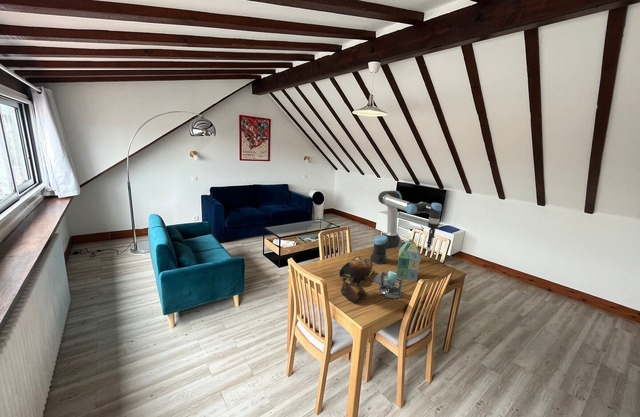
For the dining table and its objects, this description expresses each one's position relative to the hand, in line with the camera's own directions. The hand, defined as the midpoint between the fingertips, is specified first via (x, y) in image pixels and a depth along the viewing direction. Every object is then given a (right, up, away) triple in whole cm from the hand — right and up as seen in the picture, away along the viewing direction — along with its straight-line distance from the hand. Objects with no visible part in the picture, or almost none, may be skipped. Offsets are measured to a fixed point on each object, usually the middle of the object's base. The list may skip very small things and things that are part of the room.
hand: (429, 248), depth 220 cm
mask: (-58, -24, +7) cm, 63 cm away
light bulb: (-35, -22, -19) cm, 45 cm away
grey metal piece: (-35, -31, -16) cm, 49 cm away
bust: (-62, -30, -20) cm, 72 cm away
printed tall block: (-15, -25, +11) cm, 31 cm away
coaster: (-38, -26, +1) cm, 46 cm away
